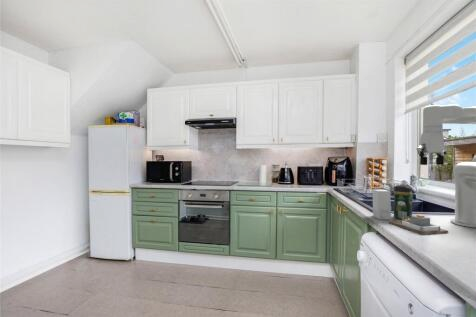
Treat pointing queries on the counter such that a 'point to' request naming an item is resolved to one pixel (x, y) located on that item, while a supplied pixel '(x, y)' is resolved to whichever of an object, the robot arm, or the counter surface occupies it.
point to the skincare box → (382, 204)
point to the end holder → (426, 228)
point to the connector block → (420, 220)
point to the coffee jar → (402, 201)
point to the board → (408, 219)
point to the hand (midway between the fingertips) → (431, 164)
